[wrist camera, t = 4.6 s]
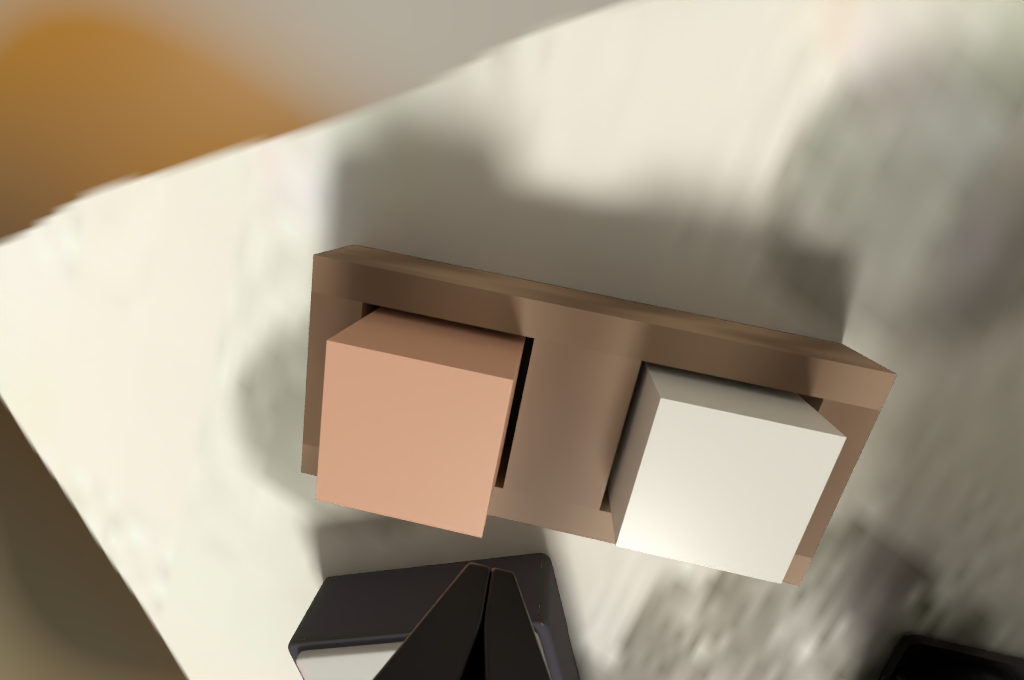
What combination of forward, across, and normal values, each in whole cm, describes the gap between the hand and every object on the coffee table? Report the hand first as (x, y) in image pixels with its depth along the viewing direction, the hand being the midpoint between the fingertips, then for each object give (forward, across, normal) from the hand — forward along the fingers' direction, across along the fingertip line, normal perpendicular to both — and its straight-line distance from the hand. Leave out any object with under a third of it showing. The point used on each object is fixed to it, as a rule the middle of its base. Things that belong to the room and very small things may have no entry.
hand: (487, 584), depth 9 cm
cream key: (+9, -6, 0) cm, 11 cm away
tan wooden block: (+9, +3, 0) cm, 9 cm away
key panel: (+10, -2, 0) cm, 11 cm away
